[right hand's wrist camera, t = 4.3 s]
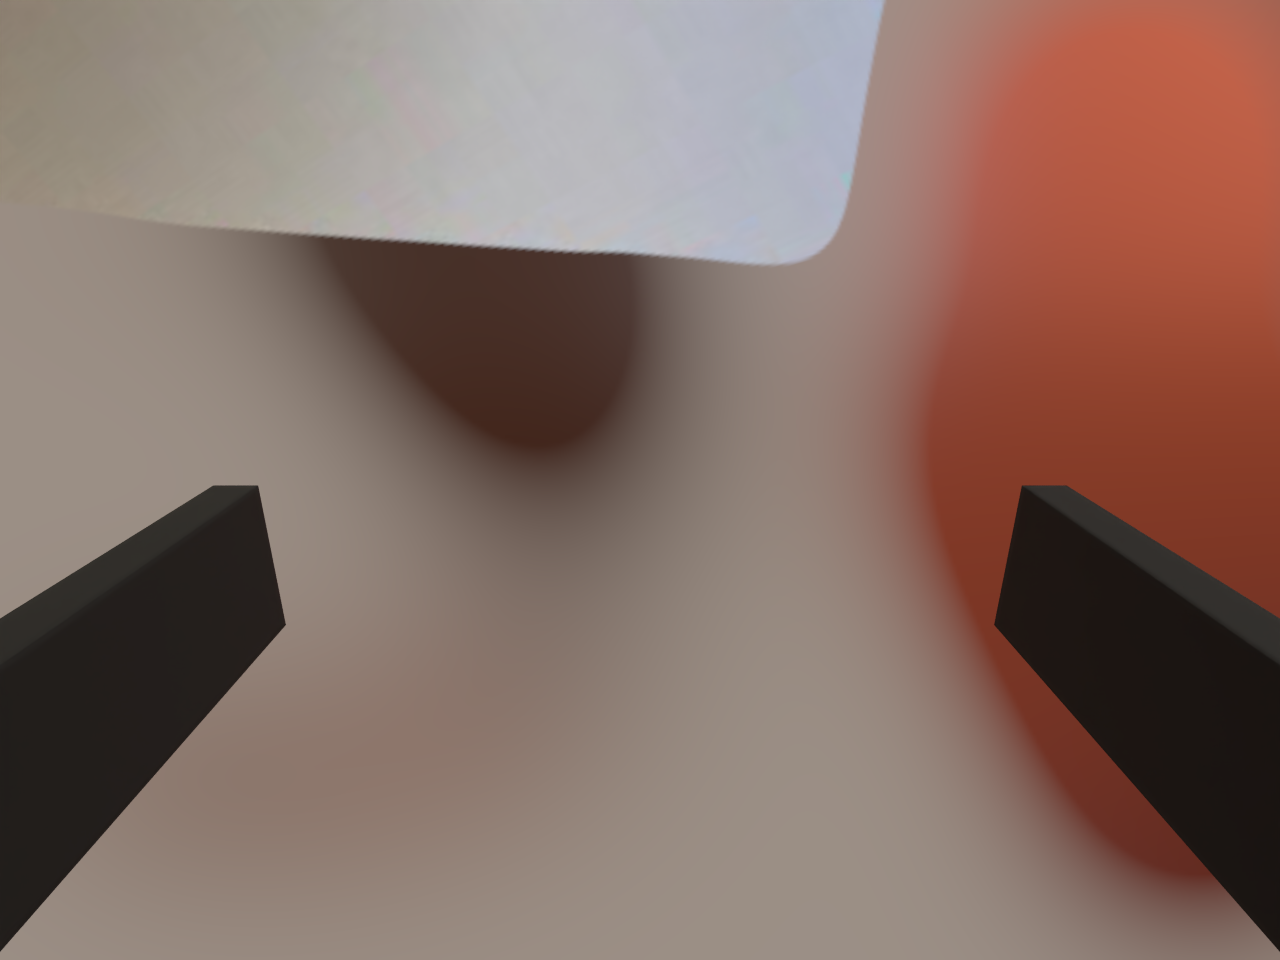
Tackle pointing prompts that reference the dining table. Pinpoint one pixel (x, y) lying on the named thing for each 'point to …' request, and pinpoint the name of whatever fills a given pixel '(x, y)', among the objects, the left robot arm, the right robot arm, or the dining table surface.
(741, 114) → the dining table surface
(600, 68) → the dining table surface
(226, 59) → the dining table surface
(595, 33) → the dining table surface
